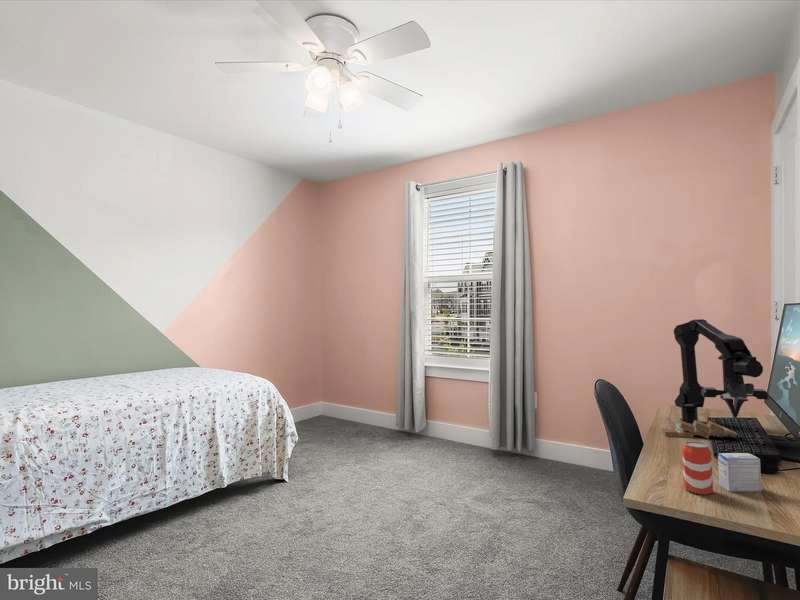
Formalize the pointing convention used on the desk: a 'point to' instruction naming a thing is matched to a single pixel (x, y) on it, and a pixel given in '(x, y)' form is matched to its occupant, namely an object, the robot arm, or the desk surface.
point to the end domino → (679, 426)
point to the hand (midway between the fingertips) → (734, 417)
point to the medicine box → (739, 472)
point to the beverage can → (697, 467)
